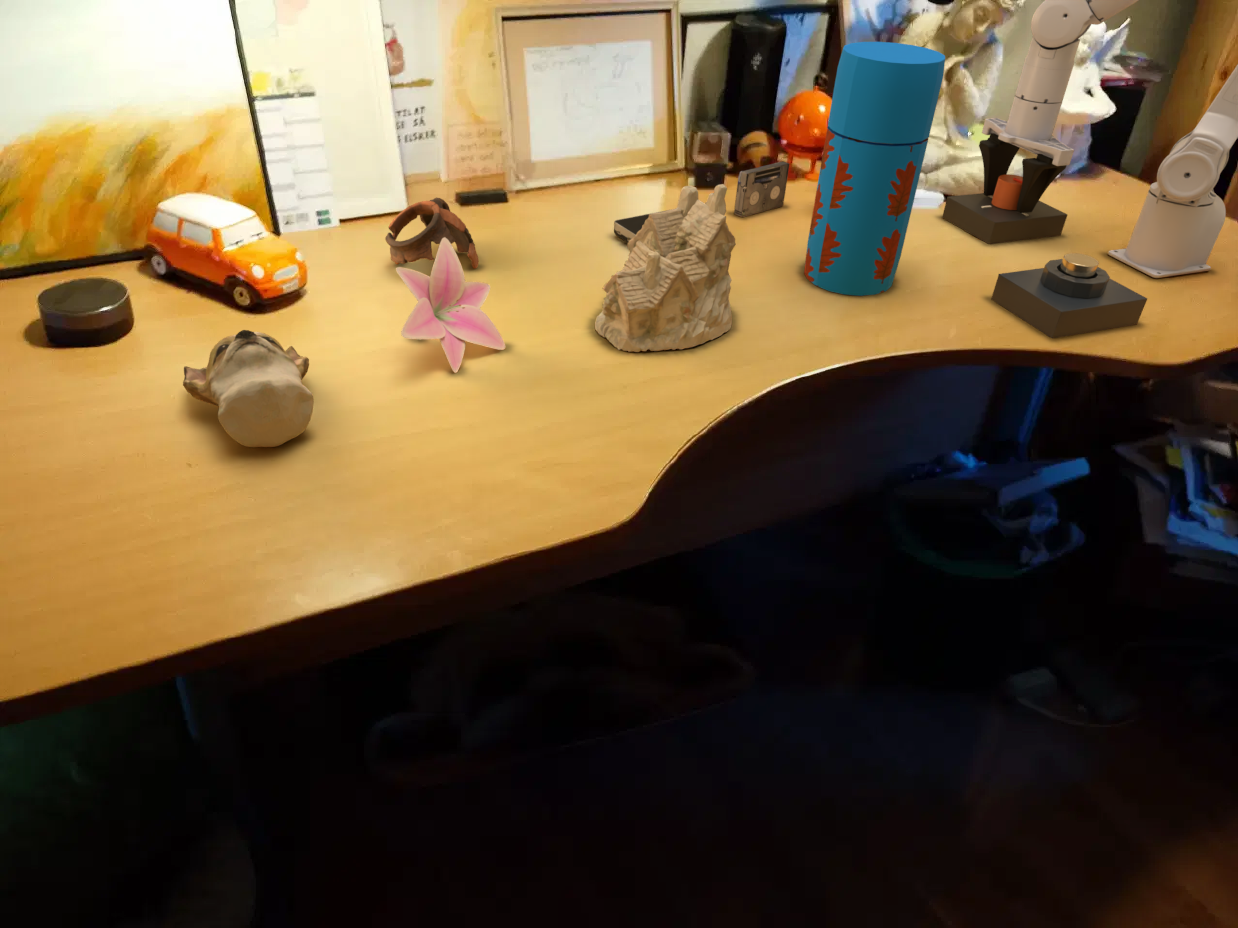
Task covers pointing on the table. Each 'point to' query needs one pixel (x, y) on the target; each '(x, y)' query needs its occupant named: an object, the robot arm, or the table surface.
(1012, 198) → the dial
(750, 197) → the mini dv tape
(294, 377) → the ceramic sculpture
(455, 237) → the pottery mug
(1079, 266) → the metal button cap
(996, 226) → the dark grey dial base
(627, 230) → the external hard drive
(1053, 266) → the square base push button
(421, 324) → the lily
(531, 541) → the table surface
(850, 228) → the thermos
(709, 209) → the ceramic cottage
